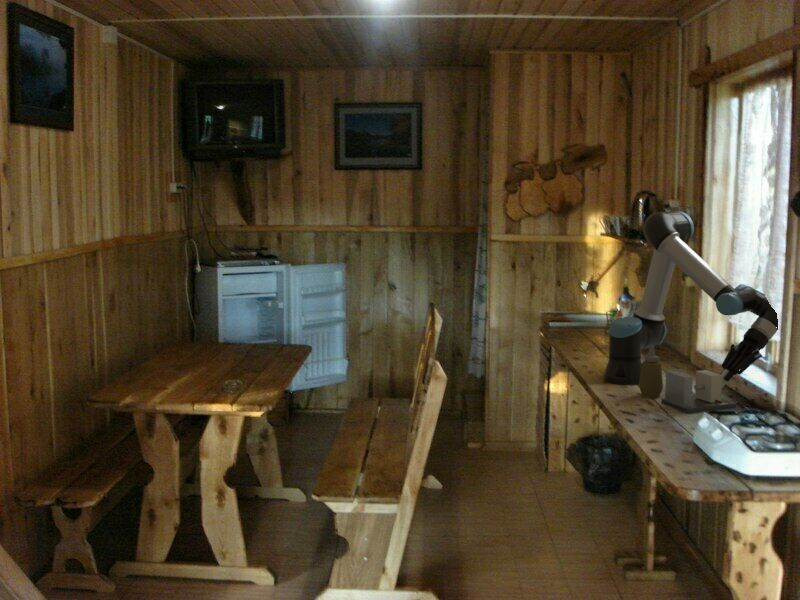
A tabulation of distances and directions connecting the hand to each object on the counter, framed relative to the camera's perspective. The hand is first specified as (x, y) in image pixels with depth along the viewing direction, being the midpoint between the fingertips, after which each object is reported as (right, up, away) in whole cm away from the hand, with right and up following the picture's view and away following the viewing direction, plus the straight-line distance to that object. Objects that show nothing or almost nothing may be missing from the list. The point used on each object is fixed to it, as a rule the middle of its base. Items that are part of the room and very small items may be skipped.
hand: (717, 386), depth 274 cm
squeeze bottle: (-19, -5, +12) cm, 23 cm away
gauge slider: (-4, -5, -2) cm, 6 cm away
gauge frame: (-7, -6, -1) cm, 9 cm away
